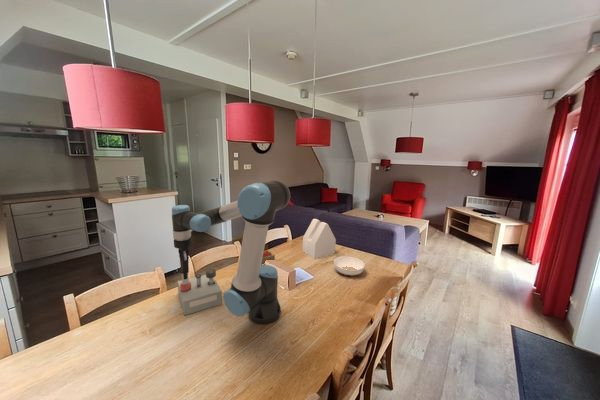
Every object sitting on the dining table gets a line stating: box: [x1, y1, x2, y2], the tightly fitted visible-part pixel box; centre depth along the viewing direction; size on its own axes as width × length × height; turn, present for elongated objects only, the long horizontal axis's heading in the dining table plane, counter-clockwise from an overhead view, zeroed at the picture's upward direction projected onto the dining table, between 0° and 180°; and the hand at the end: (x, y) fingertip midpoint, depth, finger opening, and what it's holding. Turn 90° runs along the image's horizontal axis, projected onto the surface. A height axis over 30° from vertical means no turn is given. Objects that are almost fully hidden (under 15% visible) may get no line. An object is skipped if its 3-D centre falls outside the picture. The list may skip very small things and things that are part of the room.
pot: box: [195, 273, 202, 287], centre depth 121 cm, size 3×3×6 cm
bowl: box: [333, 255, 366, 277], centre depth 156 cm, size 20×20×6 cm
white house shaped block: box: [302, 218, 337, 260], centre depth 181 cm, size 19×15×25 cm
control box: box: [177, 274, 223, 316], centre depth 122 cm, size 20×17×7 cm
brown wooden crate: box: [261, 249, 276, 265], centre depth 164 cm, size 10×17×5 cm, turn 123°
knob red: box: [180, 282, 191, 292], centre depth 118 cm, size 5×5×9 cm
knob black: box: [205, 268, 217, 285], centre depth 124 cm, size 5×5×9 cm
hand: (185, 283), depth 117 cm, fingers closed
